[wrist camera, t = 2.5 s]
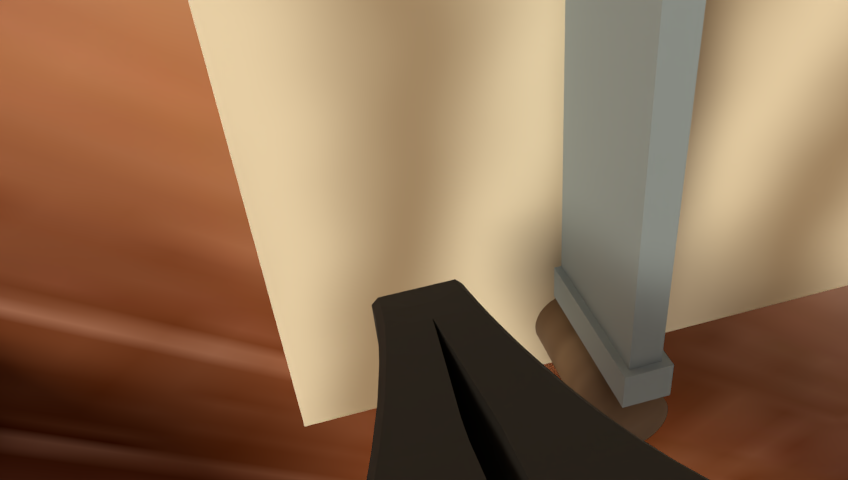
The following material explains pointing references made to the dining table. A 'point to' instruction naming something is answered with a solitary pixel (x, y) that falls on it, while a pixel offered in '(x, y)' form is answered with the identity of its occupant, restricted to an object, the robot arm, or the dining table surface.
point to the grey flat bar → (625, 180)
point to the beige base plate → (508, 170)
